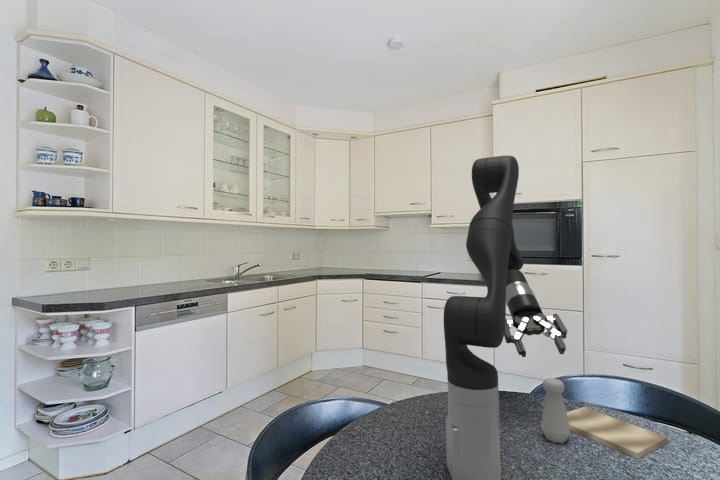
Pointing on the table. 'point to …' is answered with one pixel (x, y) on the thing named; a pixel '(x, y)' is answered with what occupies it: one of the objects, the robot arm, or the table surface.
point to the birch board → (614, 432)
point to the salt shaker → (554, 412)
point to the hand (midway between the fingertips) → (543, 353)
